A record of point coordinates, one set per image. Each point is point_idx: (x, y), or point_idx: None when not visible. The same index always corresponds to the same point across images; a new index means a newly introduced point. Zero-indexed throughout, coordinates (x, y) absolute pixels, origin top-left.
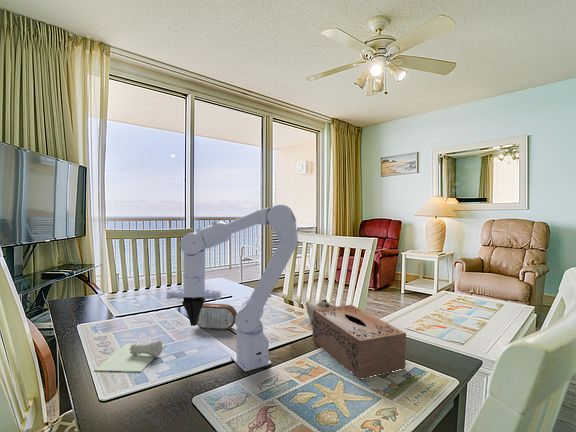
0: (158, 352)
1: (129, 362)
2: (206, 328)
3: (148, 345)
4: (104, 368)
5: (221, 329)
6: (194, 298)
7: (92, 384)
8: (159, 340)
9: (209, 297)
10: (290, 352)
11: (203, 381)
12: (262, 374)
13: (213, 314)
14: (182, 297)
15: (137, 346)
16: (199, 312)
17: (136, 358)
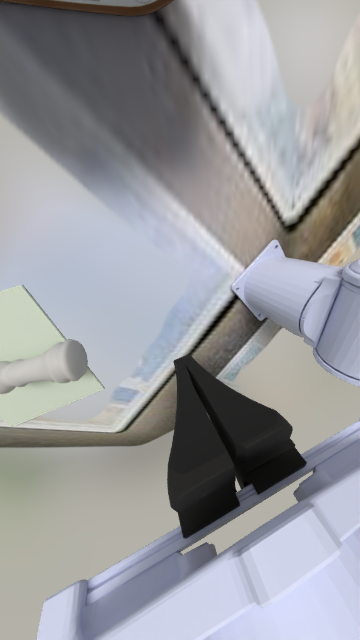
0: (82, 355)
1: (46, 386)
2: (10, 2)
3: (54, 381)
4: (25, 416)
5: (112, 13)
6: (247, 492)
7: (66, 432)
8: (64, 364)
9: (333, 455)
10: (333, 221)
11: (211, 359)
12: None
13: None
14: (177, 545)
15: (16, 386)
16: (213, 379)
17: None
